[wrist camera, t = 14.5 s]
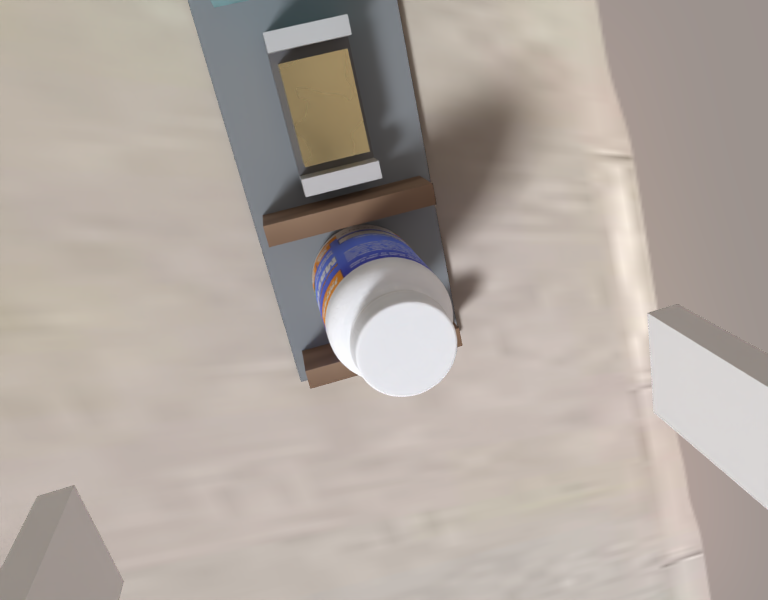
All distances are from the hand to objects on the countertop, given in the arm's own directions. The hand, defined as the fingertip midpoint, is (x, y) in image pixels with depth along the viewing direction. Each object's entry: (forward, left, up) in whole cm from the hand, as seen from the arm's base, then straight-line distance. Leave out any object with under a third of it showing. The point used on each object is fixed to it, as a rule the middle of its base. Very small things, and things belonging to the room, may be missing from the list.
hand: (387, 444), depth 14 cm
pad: (-6, +2, -18) cm, 19 cm away
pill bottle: (+2, +2, -19) cm, 19 cm away
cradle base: (-6, +2, -19) cm, 20 cm away
